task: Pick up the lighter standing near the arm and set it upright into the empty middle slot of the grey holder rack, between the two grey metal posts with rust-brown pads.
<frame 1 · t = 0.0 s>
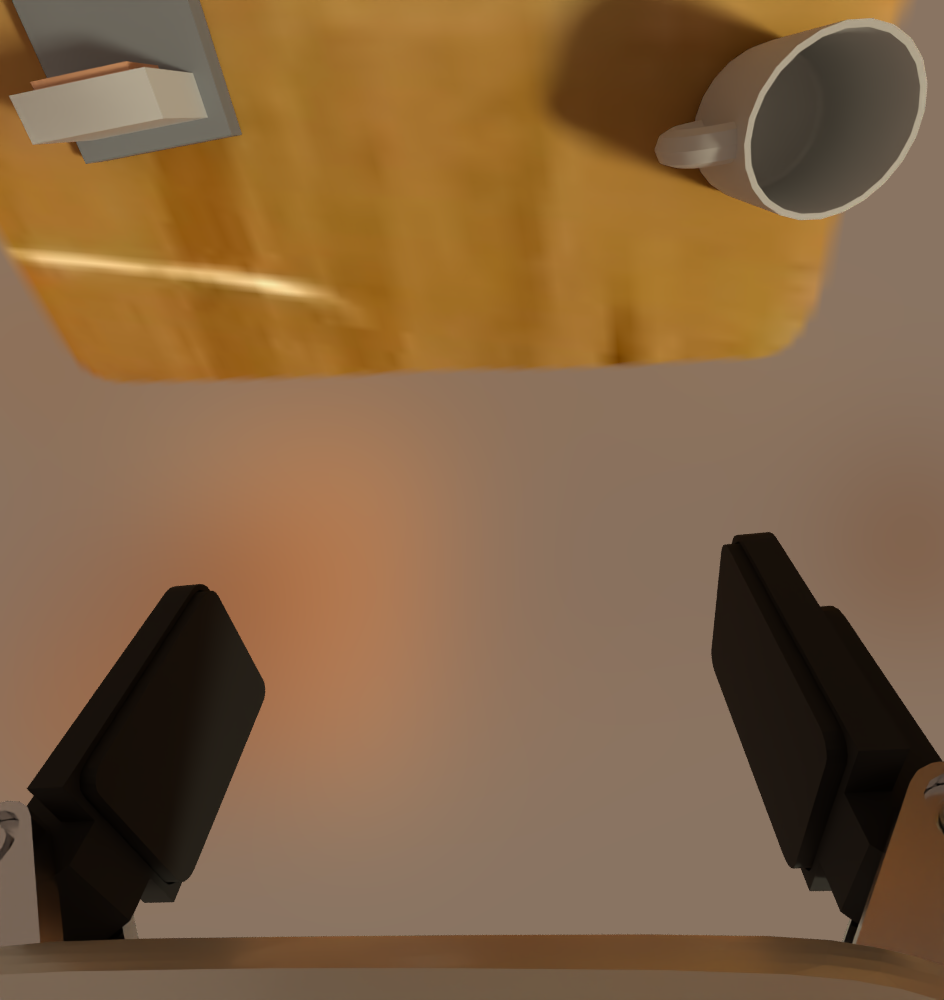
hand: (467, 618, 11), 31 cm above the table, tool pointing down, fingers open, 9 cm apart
cup: (730, 128, 33), on the table
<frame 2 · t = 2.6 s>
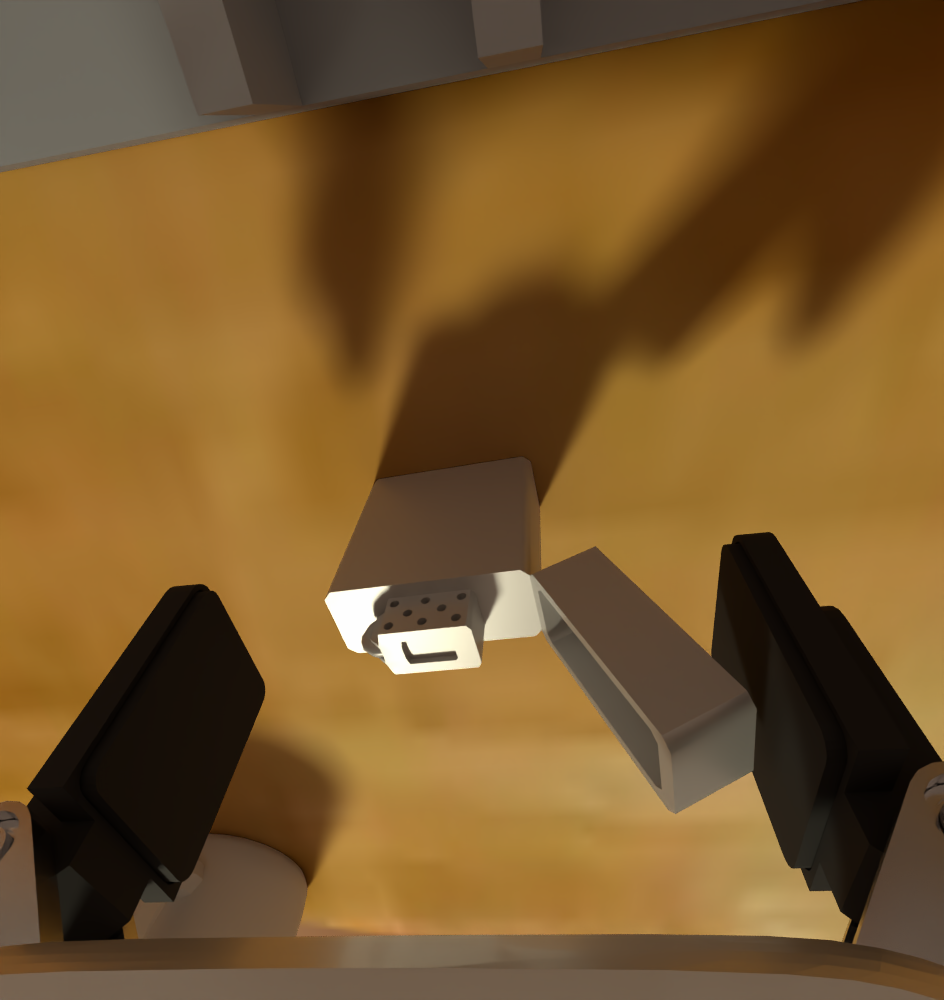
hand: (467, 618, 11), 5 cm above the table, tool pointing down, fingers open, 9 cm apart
cup: (228, 850, 28), on the table
lighter: (512, 484, 15), on the table
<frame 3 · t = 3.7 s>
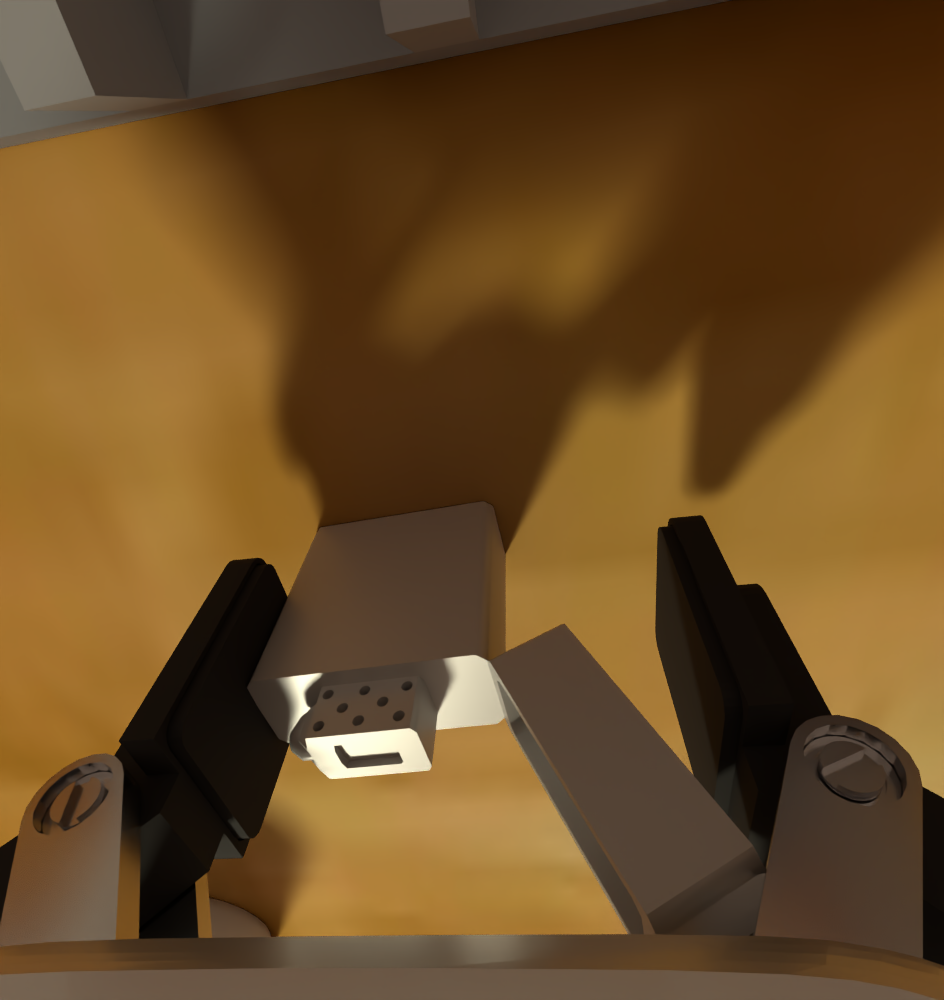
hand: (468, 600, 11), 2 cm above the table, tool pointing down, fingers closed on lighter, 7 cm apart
cup: (185, 907, 26), on the table
lighter: (474, 530, 13), on the table, touching gripper
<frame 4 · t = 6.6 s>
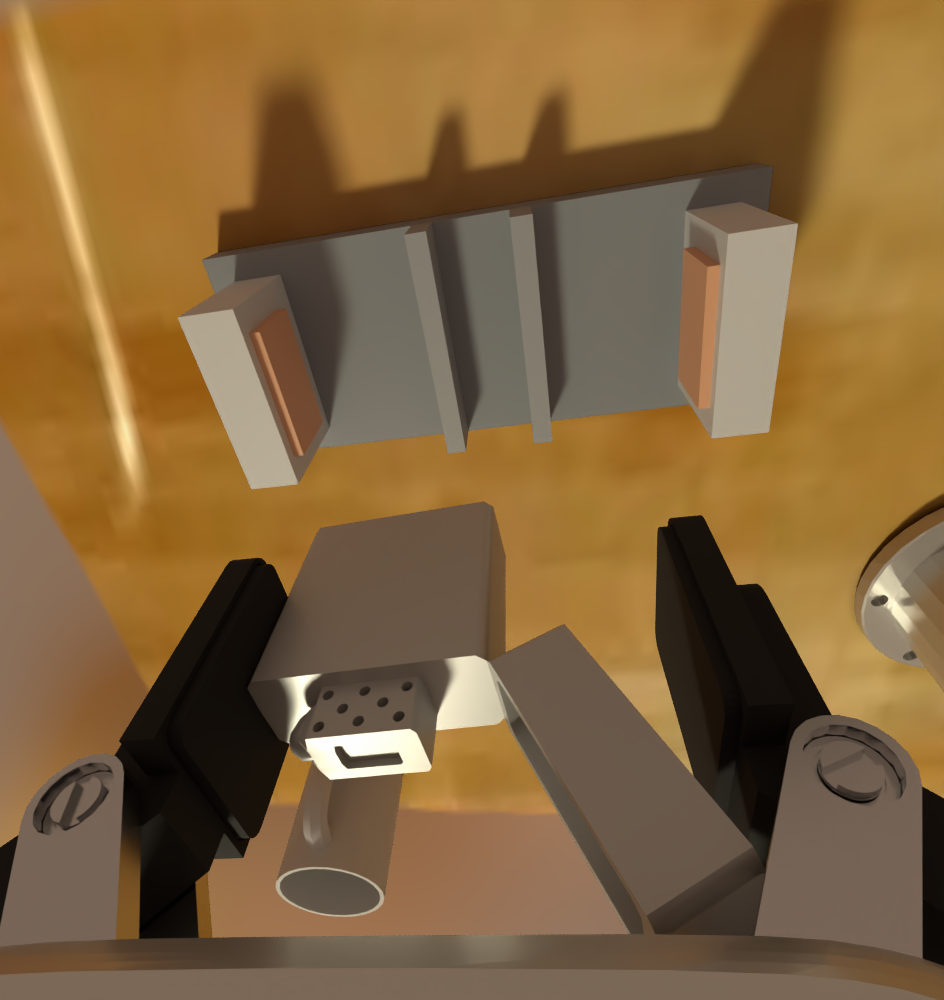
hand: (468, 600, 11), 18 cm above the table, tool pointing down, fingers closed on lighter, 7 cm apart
cup: (353, 754, 45), on the table
lighter: (474, 530, 13), point 15 cm above the table, touching gripper
grey holder rack: (487, 321, 26), on the table
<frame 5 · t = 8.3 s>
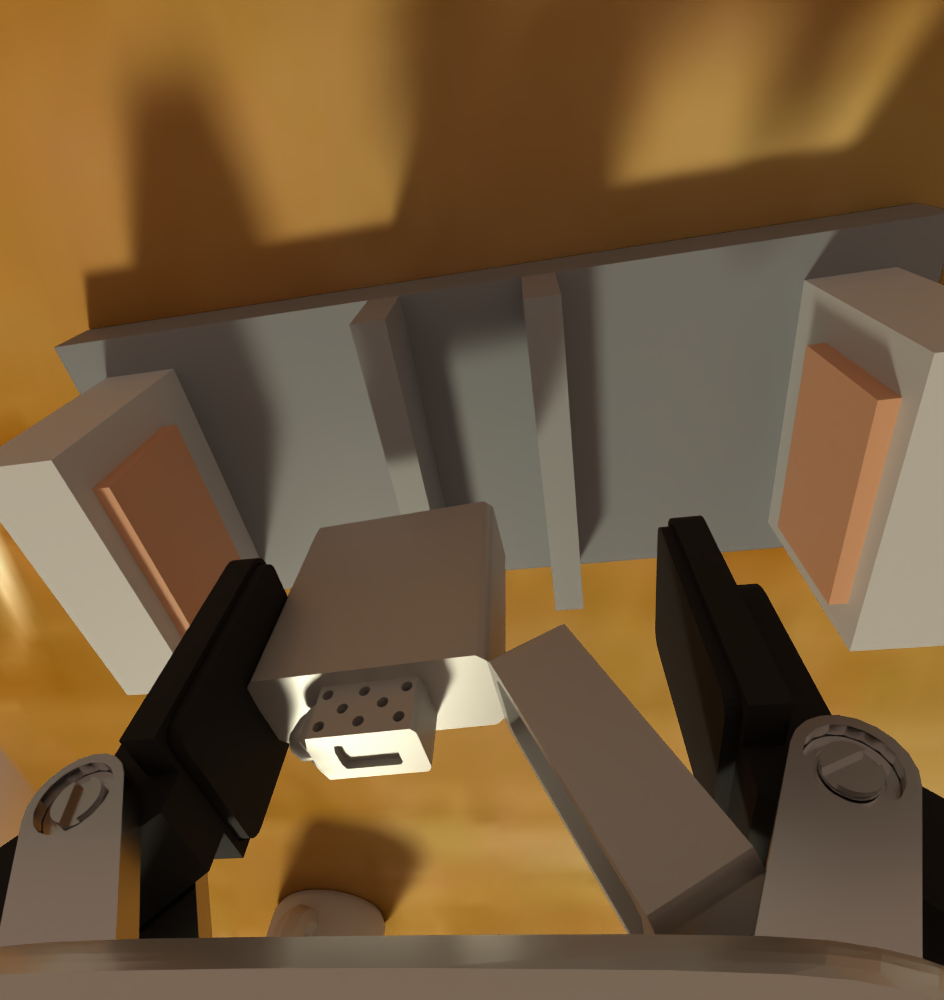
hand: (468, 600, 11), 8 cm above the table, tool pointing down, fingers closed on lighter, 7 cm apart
cup: (325, 899, 37), on the table
lighter: (474, 530, 13), point 5 cm above the table, touching gripper
grey holder rack: (487, 425, 18), on the table
when the fingers open (6 cm above the table, at t = 9.8 s): lighter stays where it is, resting on grey holder rack.
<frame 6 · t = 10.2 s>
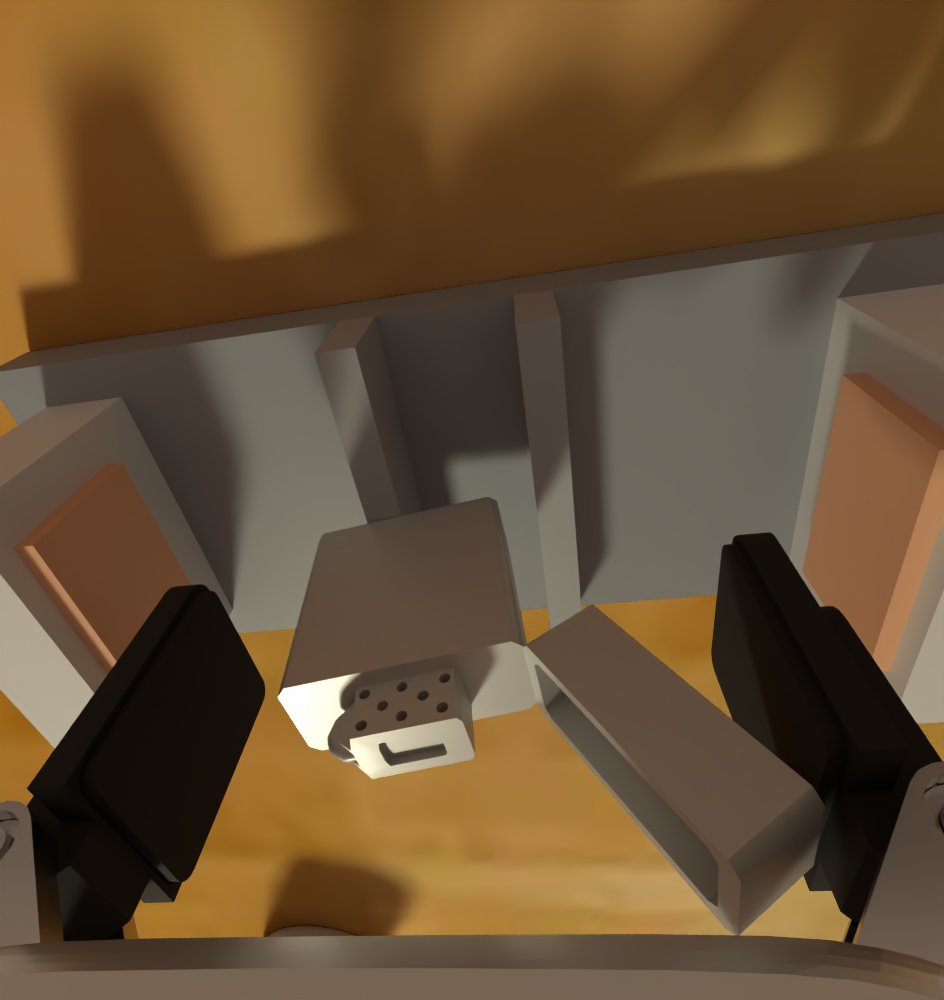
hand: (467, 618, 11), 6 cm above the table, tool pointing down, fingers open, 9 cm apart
cup: (313, 935, 35), on the table
lighter: (477, 526, 13), point 3 cm above the table, touching gripper, grey holder rack
grey holder rack: (477, 455, 16), on the table
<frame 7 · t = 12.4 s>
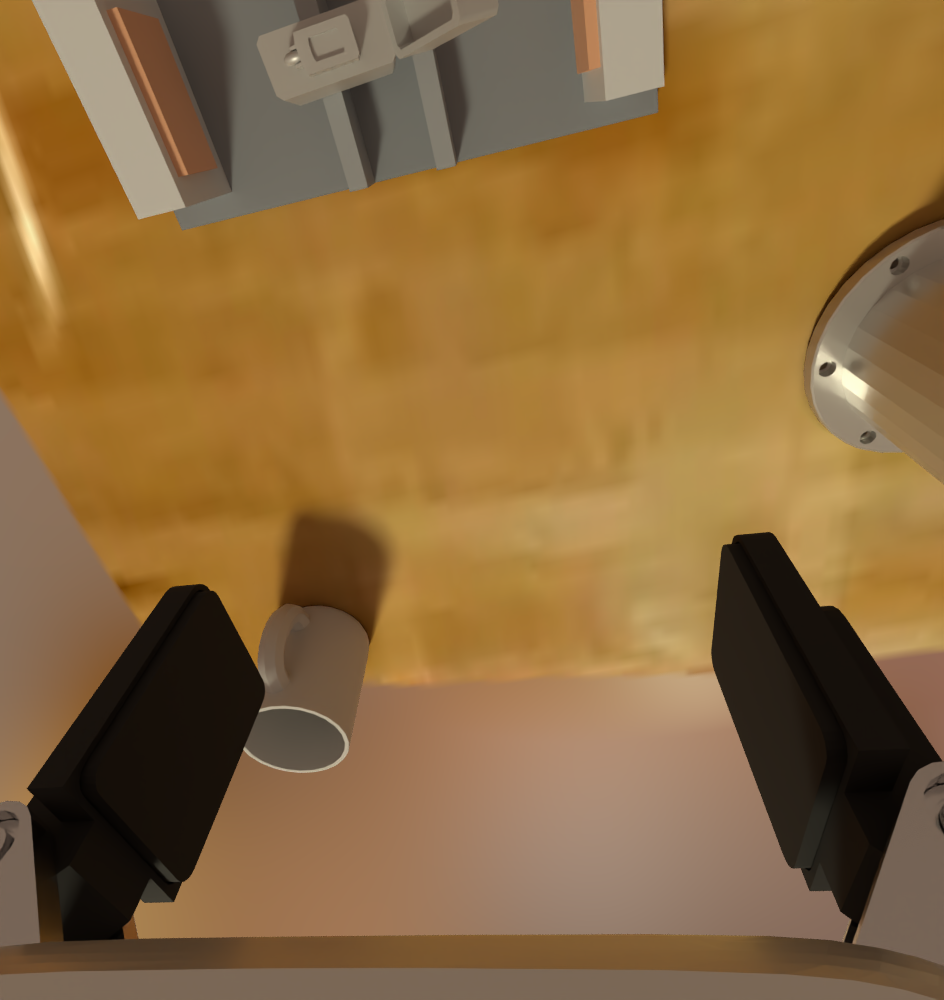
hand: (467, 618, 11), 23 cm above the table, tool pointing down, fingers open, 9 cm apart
cup: (317, 622, 44), on the table
lighter: (374, 50, 22), point 3 cm above the table, touching grey holder rack
grey holder rack: (382, 53, 25), on the table
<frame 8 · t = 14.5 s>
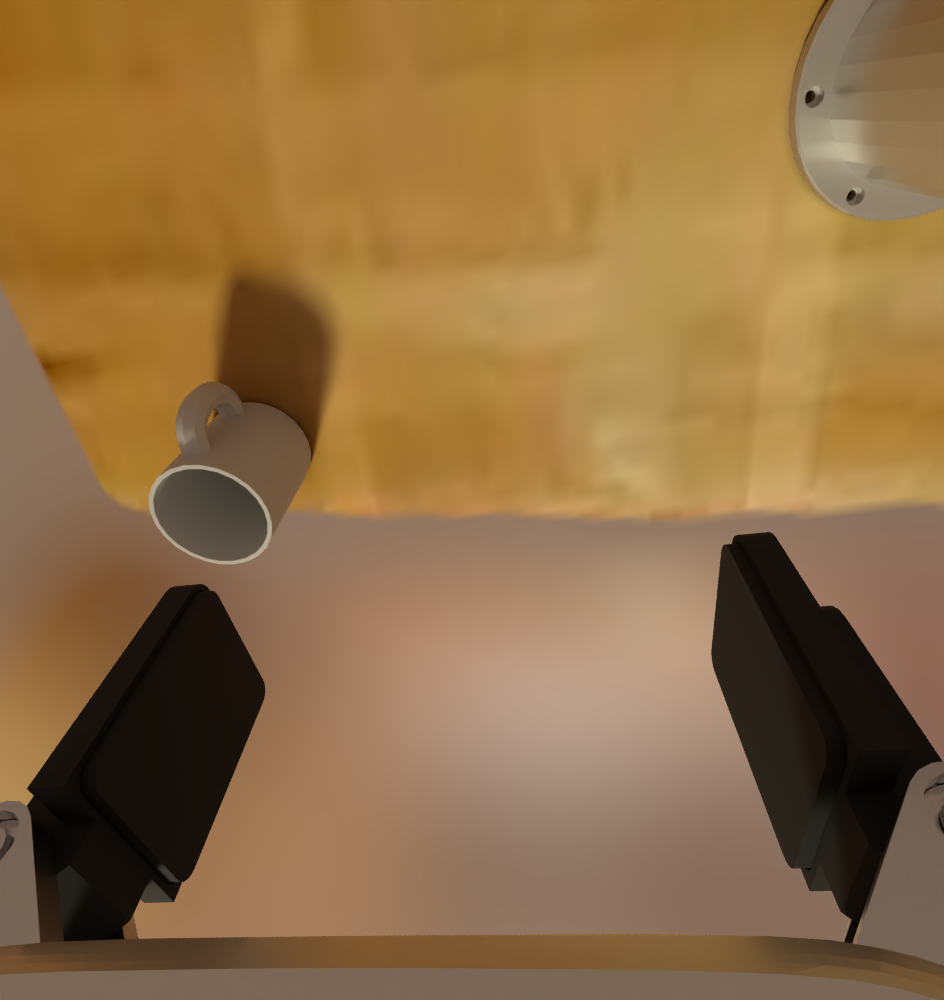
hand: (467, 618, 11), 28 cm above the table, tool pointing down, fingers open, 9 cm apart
cup: (256, 427, 41), on the table
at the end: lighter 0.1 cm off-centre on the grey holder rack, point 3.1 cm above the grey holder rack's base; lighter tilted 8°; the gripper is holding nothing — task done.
